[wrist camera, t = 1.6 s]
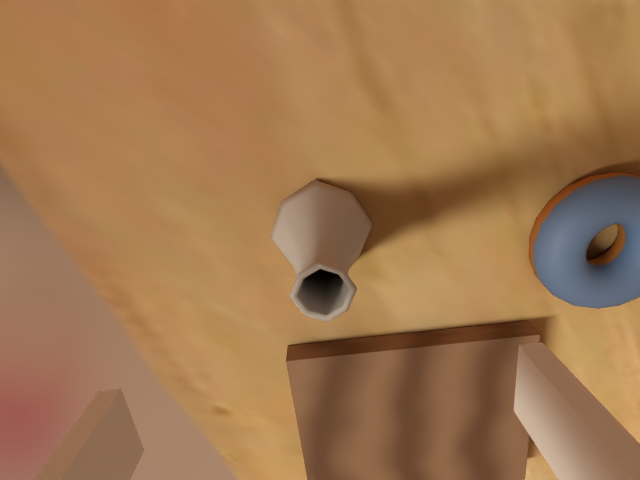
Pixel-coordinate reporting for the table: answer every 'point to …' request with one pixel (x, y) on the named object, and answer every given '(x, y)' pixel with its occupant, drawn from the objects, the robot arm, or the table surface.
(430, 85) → the table surface
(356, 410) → the walnut board
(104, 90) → the table surface
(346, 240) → the flask
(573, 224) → the doughnut
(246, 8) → the table surface
